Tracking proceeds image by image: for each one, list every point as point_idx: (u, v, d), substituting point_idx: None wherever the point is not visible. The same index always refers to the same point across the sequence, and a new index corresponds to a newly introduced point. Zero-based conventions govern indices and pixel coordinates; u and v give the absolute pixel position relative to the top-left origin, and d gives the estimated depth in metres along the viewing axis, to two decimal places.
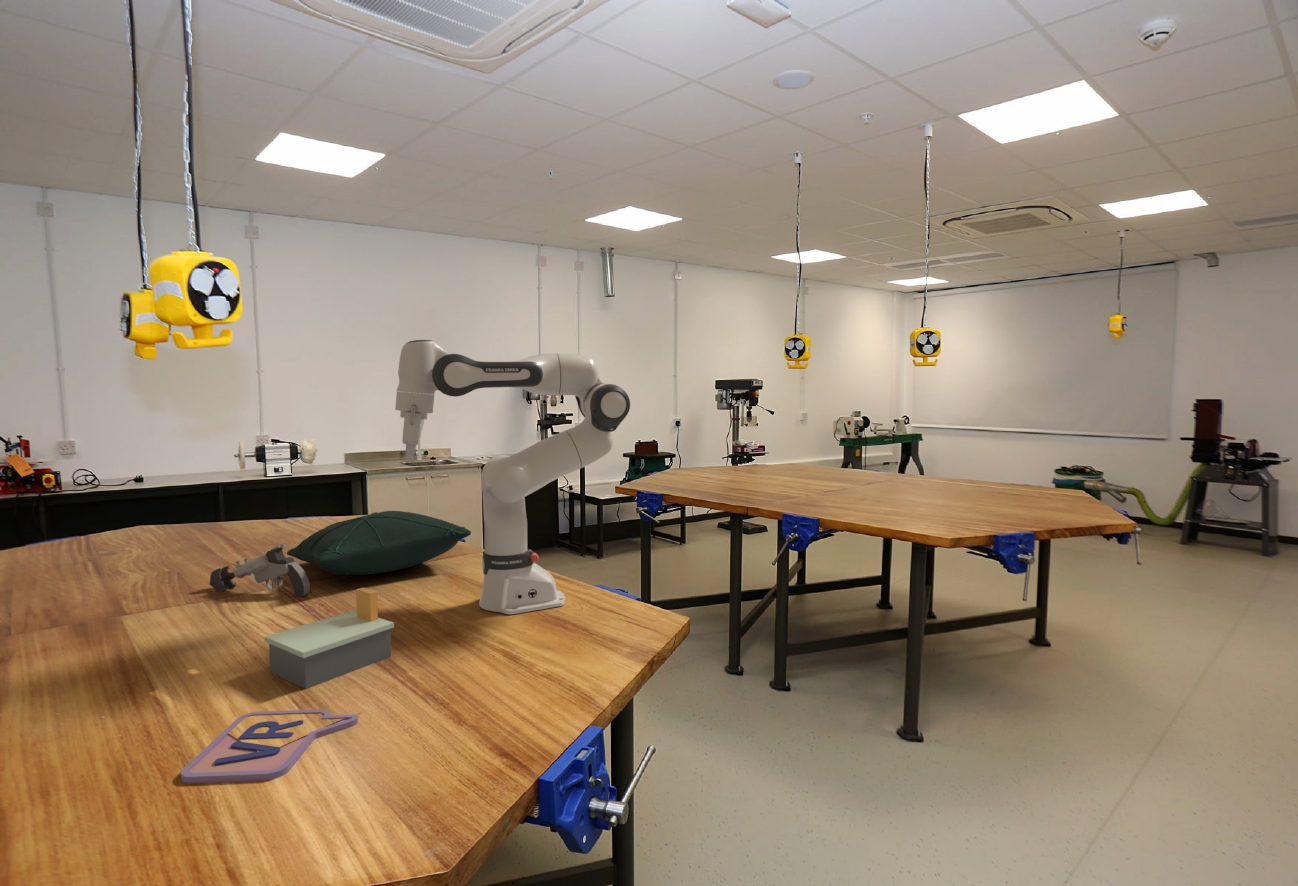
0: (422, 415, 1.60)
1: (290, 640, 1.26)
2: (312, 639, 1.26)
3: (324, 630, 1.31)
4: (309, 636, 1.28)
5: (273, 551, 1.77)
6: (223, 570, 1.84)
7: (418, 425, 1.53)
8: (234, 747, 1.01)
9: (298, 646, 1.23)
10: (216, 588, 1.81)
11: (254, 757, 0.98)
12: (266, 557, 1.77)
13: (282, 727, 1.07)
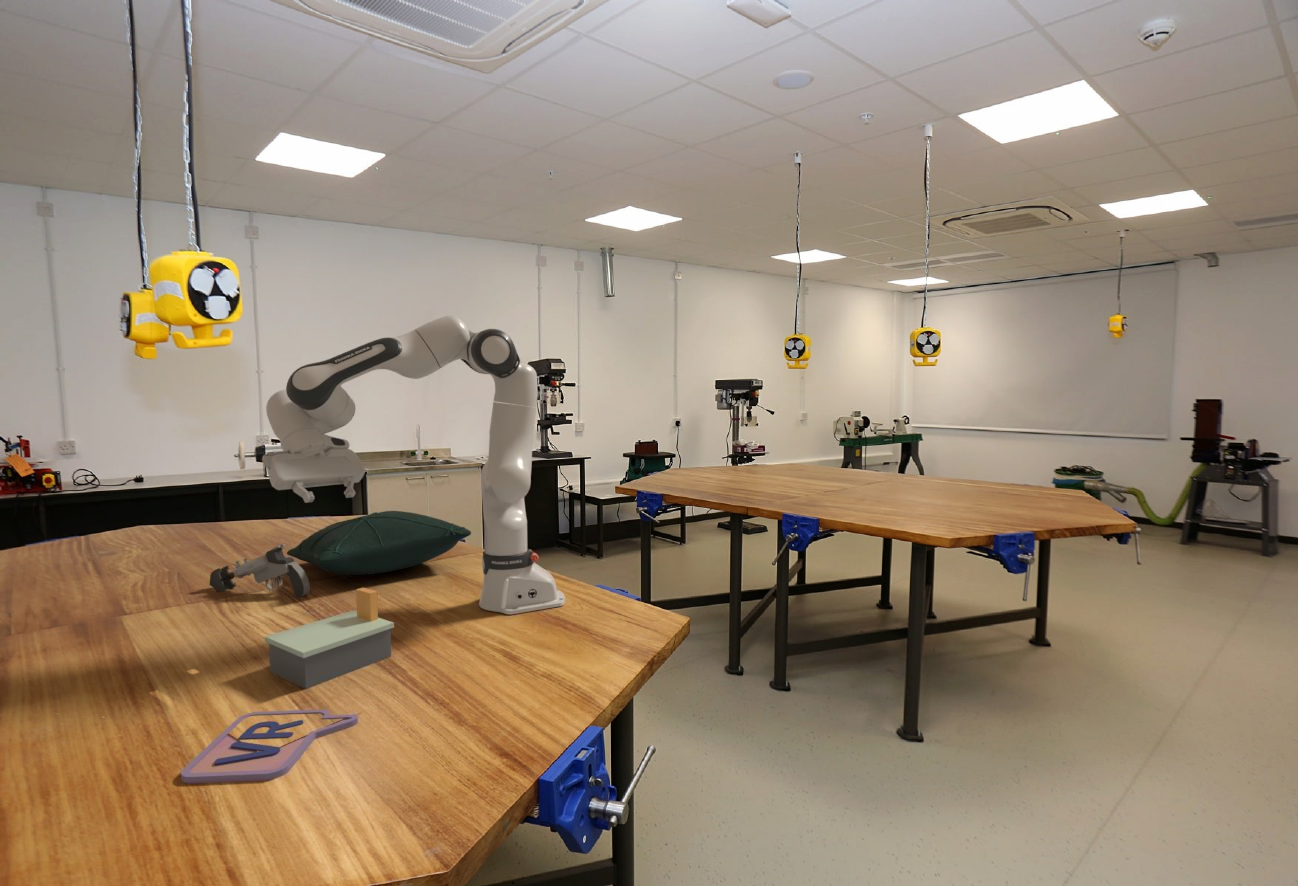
0: (304, 453, 1.44)
1: (290, 640, 1.26)
2: (312, 639, 1.26)
3: (324, 630, 1.31)
4: (309, 636, 1.28)
5: (273, 551, 1.77)
6: (223, 570, 1.84)
7: (273, 464, 1.38)
8: (234, 747, 1.01)
9: (298, 646, 1.23)
10: (216, 588, 1.81)
11: (254, 757, 0.98)
12: (266, 557, 1.77)
13: (282, 727, 1.07)
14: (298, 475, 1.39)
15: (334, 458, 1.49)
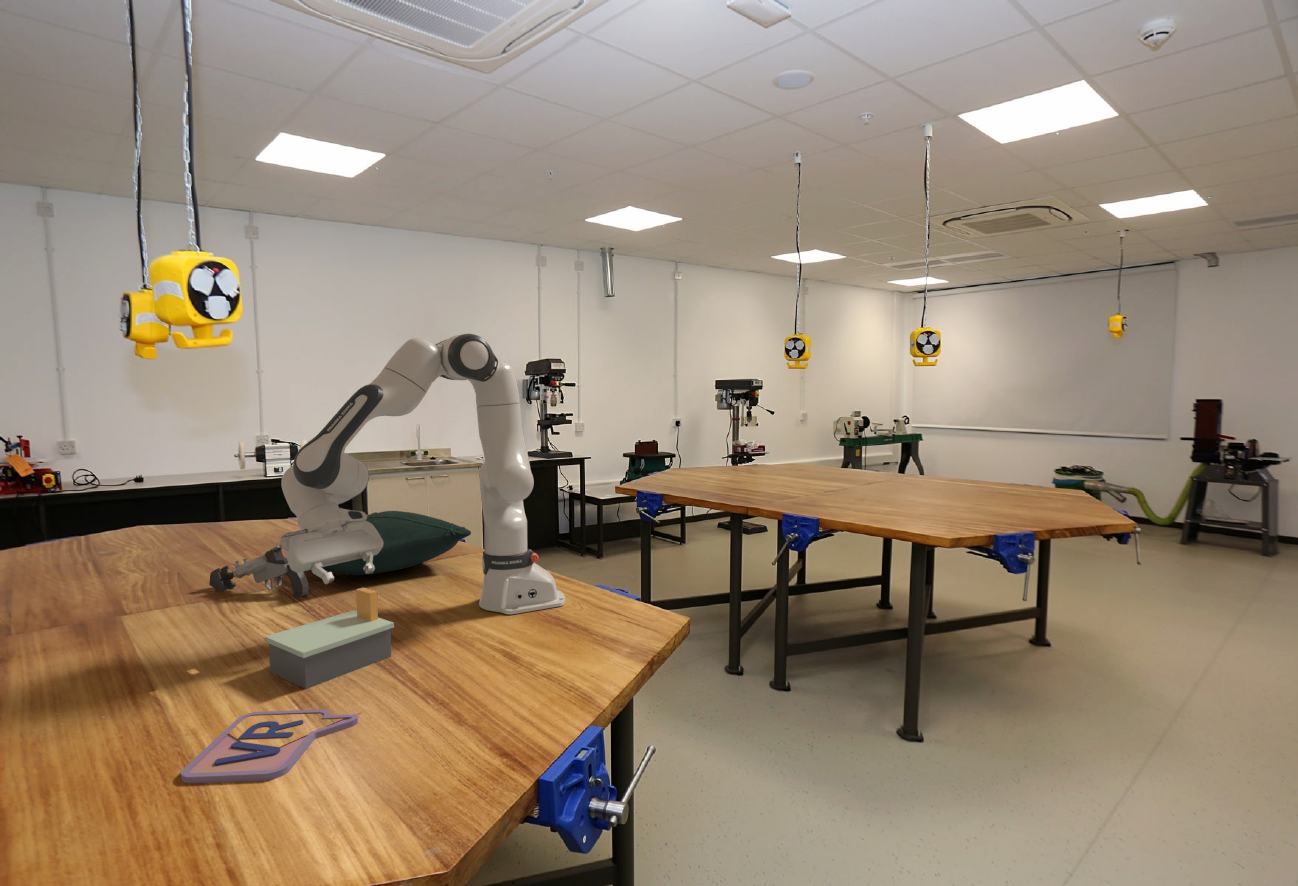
0: (322, 531, 1.41)
1: (290, 640, 1.26)
2: (312, 639, 1.26)
3: (324, 630, 1.31)
4: (309, 636, 1.28)
5: (272, 551, 1.77)
6: (223, 570, 1.84)
7: (291, 547, 1.35)
8: (234, 747, 1.01)
9: (298, 646, 1.23)
10: (216, 588, 1.82)
11: (254, 757, 0.98)
12: (265, 557, 1.77)
13: (282, 727, 1.07)
14: (317, 556, 1.37)
15: (352, 532, 1.47)
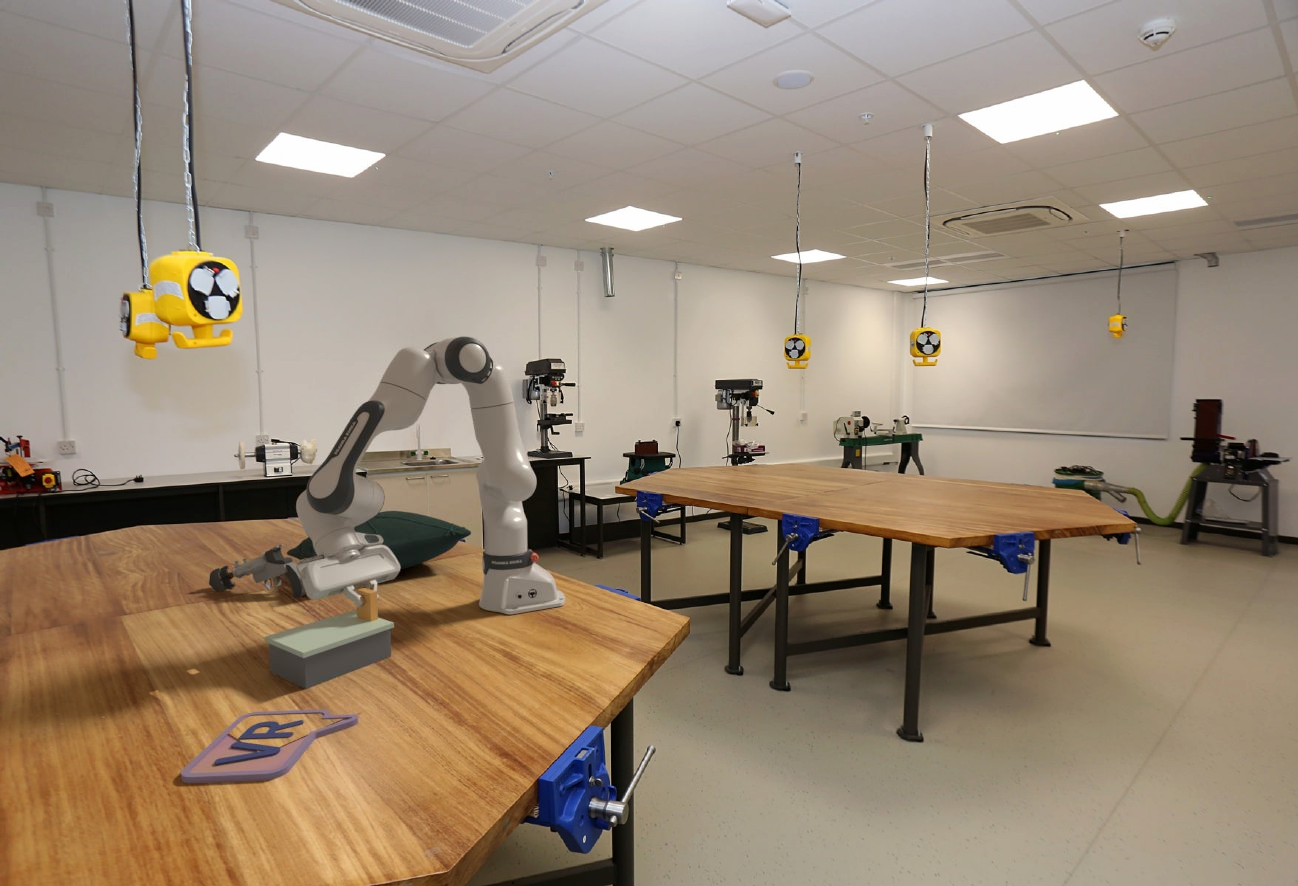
0: (338, 556, 1.38)
1: (290, 640, 1.26)
2: (312, 639, 1.26)
3: (324, 630, 1.31)
4: (309, 636, 1.28)
5: (271, 551, 1.77)
6: (222, 570, 1.84)
7: (308, 574, 1.32)
8: (234, 747, 1.01)
9: (298, 646, 1.23)
10: (215, 588, 1.82)
11: (254, 757, 0.98)
12: (264, 557, 1.77)
13: (282, 727, 1.07)
14: (335, 583, 1.34)
15: (369, 557, 1.44)
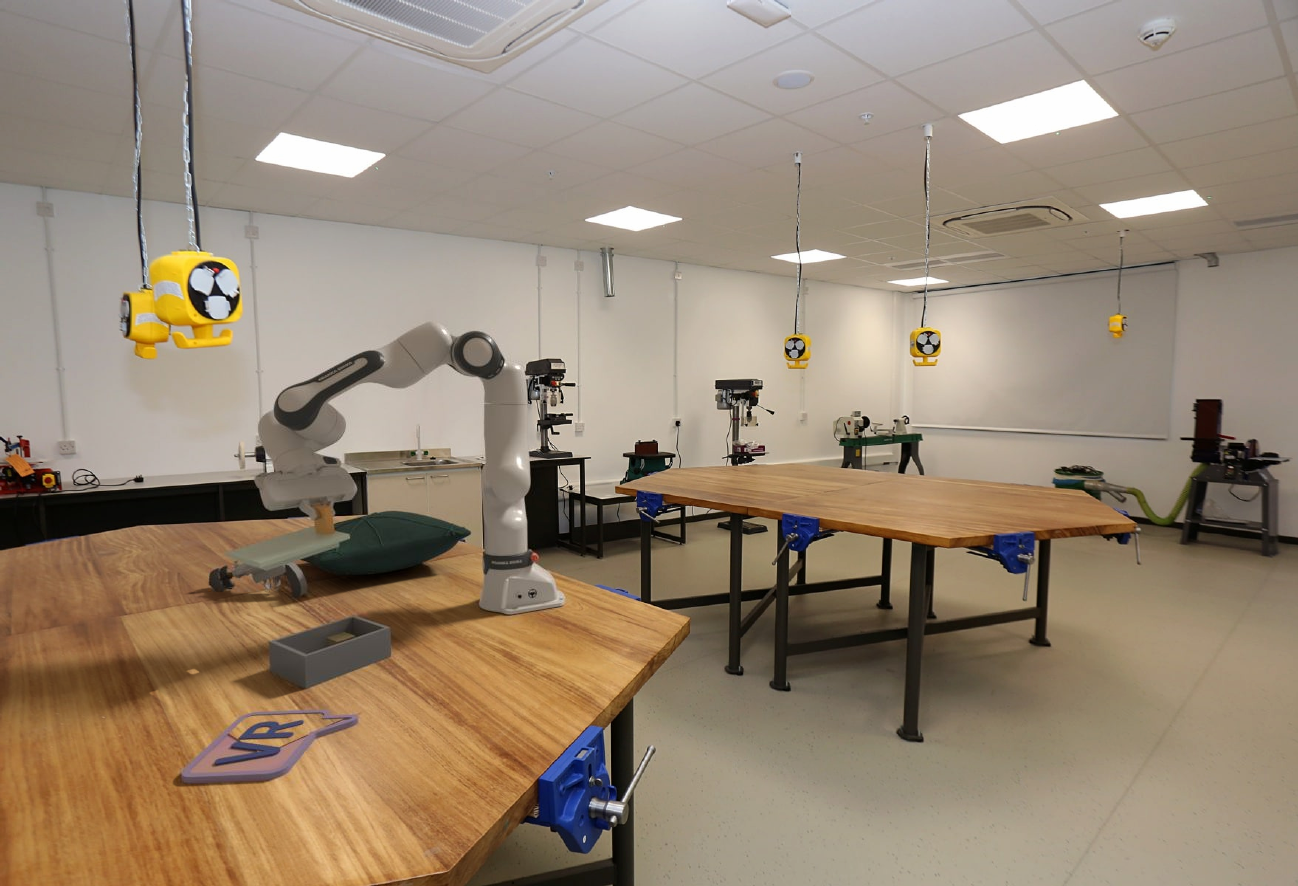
0: (296, 473, 1.45)
1: (249, 553, 1.33)
2: (270, 551, 1.34)
3: (282, 543, 1.38)
4: (268, 549, 1.35)
5: None
6: (222, 570, 1.84)
7: (265, 485, 1.39)
8: (234, 747, 1.01)
9: (256, 558, 1.30)
10: (215, 588, 1.82)
11: (254, 757, 0.98)
12: None
13: (282, 727, 1.07)
14: (291, 495, 1.41)
15: (326, 476, 1.51)
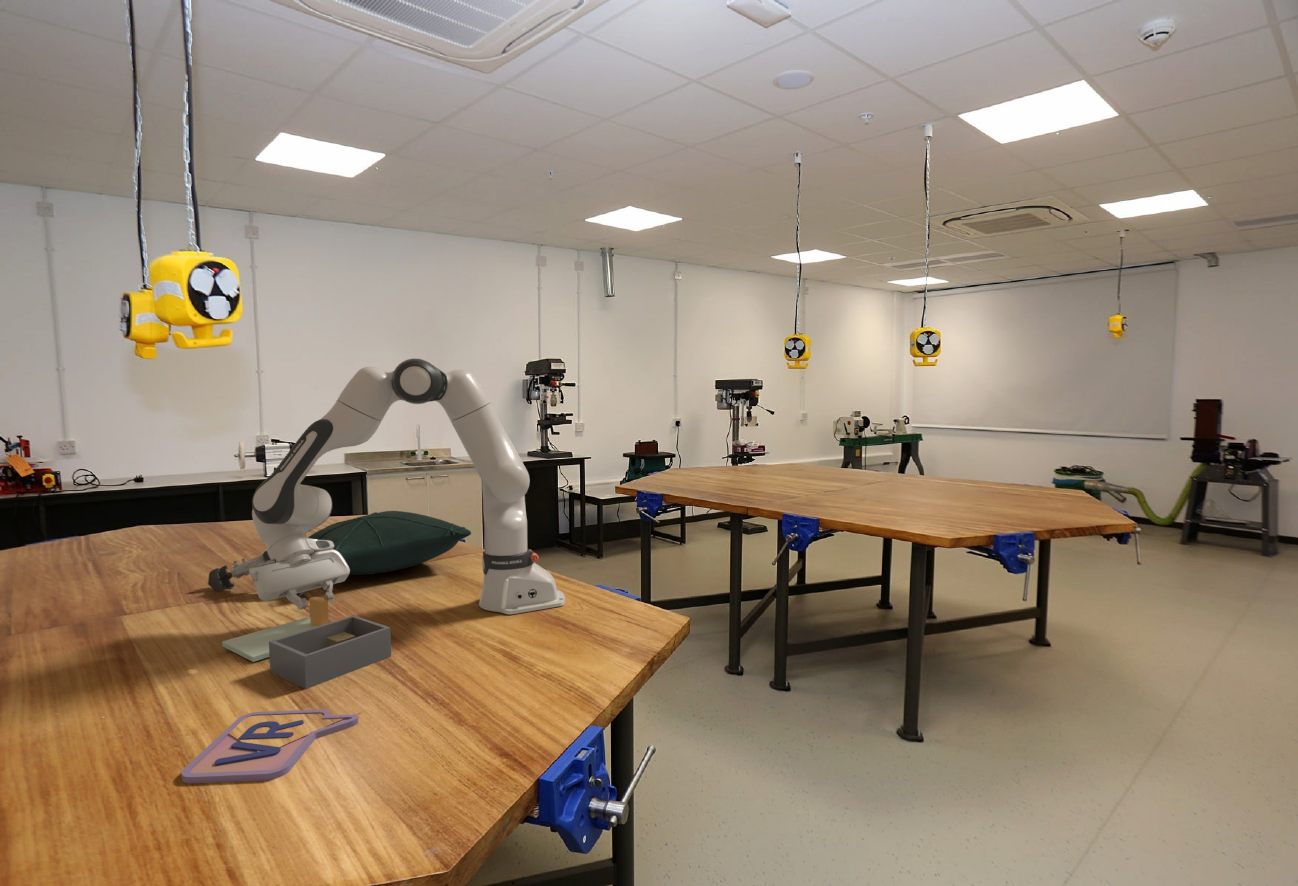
0: (290, 560, 1.50)
1: (244, 645, 1.38)
2: (264, 644, 1.38)
3: (277, 635, 1.43)
4: (262, 641, 1.40)
5: None
6: (221, 570, 1.84)
7: (259, 577, 1.43)
8: (234, 747, 1.01)
9: (250, 651, 1.35)
10: (214, 588, 1.82)
11: (254, 757, 0.98)
12: (263, 557, 1.77)
13: (282, 727, 1.07)
14: (284, 585, 1.45)
15: (319, 561, 1.55)
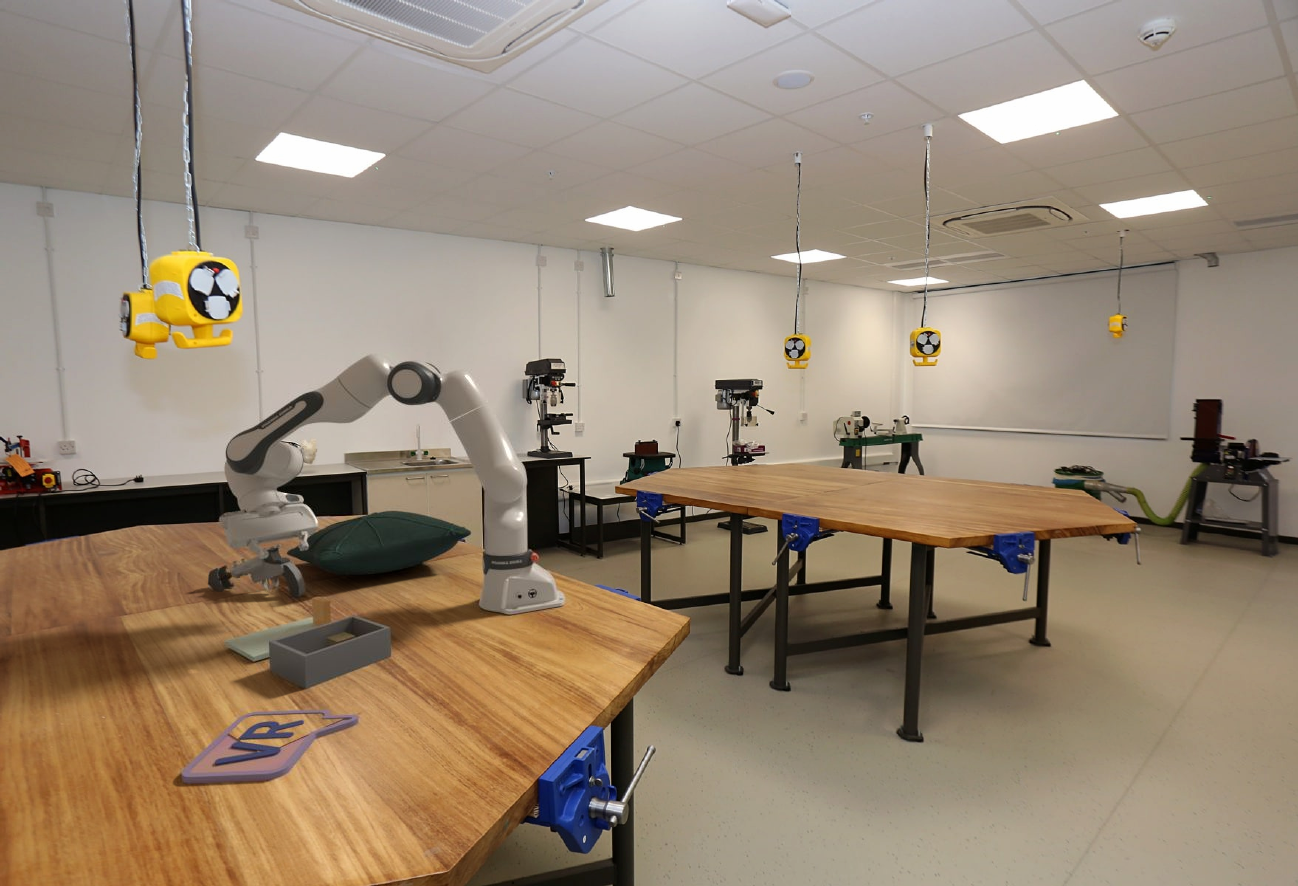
0: (259, 511, 1.56)
1: (246, 644, 1.38)
2: (265, 644, 1.38)
3: (279, 635, 1.43)
4: (264, 641, 1.40)
5: (269, 551, 1.77)
6: (221, 570, 1.84)
7: (229, 525, 1.49)
8: (234, 747, 1.01)
9: (251, 650, 1.35)
10: (214, 588, 1.82)
11: (254, 757, 0.98)
12: None
13: (282, 727, 1.07)
14: (253, 534, 1.51)
15: (289, 513, 1.61)
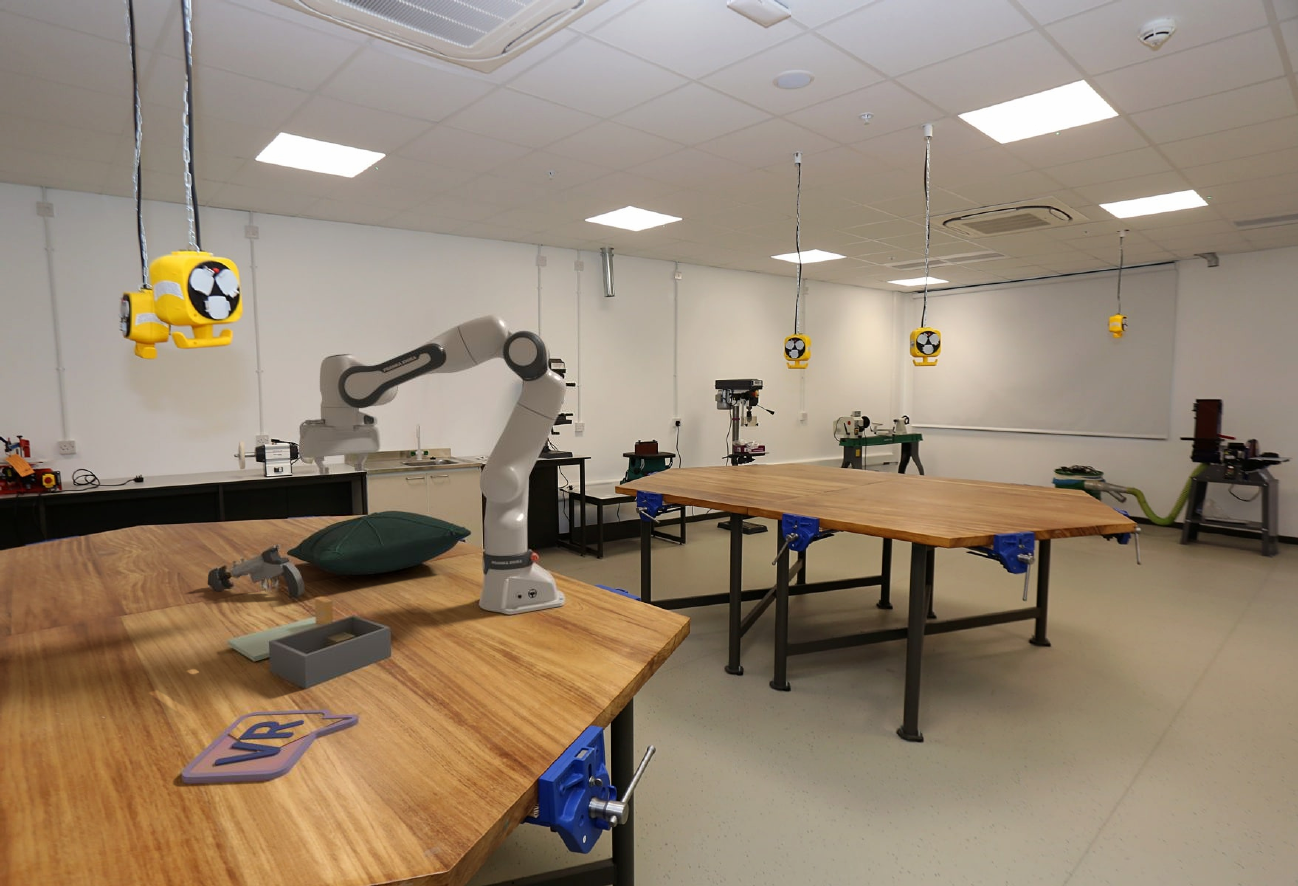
0: (336, 428, 1.62)
1: (247, 644, 1.39)
2: (267, 644, 1.39)
3: (281, 635, 1.44)
4: (266, 640, 1.40)
5: (268, 551, 1.77)
6: (221, 570, 1.84)
7: (306, 439, 1.57)
8: (235, 747, 1.01)
9: (252, 650, 1.35)
10: (214, 587, 1.82)
11: (255, 757, 0.98)
12: (261, 557, 1.77)
13: (283, 727, 1.07)
14: (323, 453, 1.60)
15: (359, 433, 1.68)
